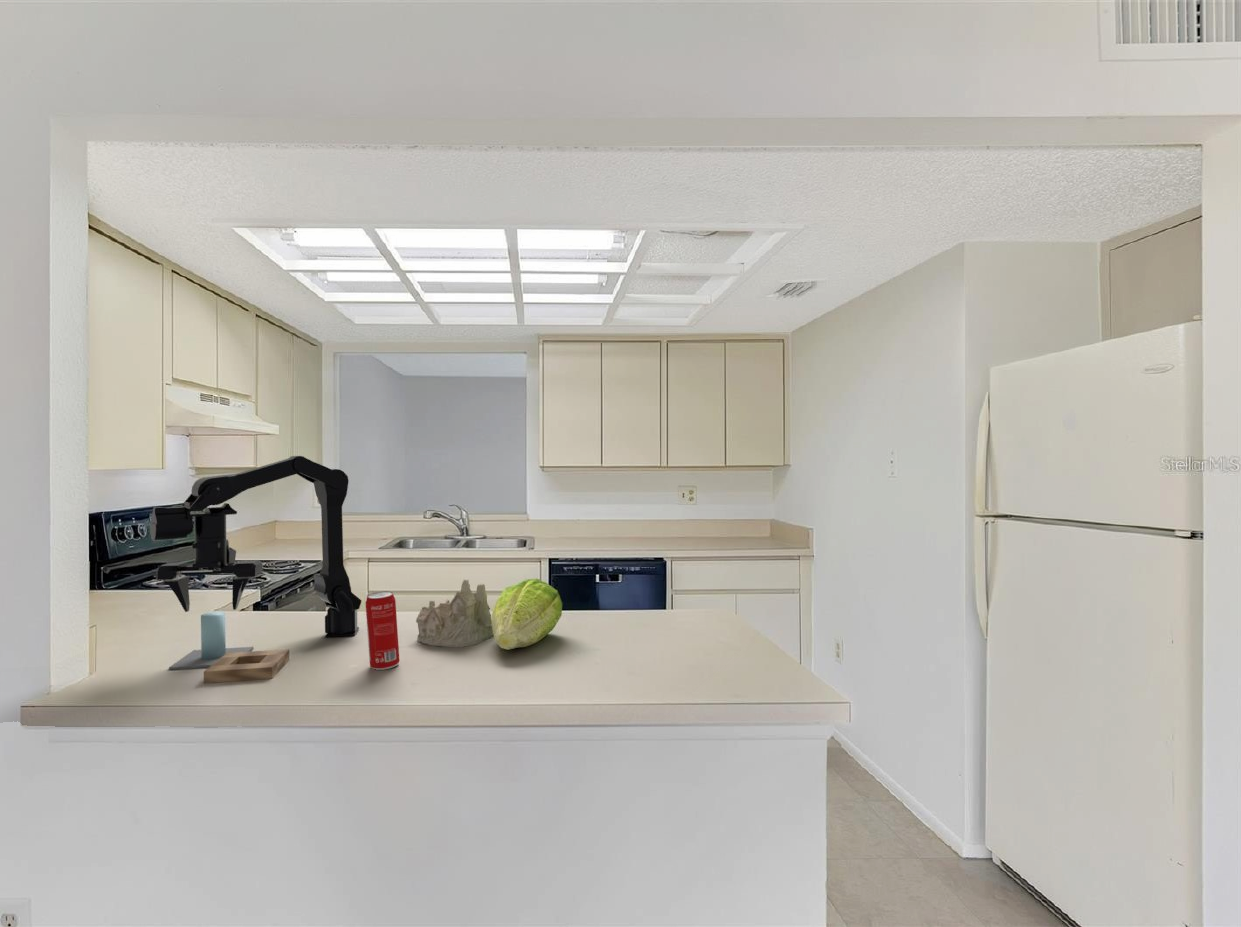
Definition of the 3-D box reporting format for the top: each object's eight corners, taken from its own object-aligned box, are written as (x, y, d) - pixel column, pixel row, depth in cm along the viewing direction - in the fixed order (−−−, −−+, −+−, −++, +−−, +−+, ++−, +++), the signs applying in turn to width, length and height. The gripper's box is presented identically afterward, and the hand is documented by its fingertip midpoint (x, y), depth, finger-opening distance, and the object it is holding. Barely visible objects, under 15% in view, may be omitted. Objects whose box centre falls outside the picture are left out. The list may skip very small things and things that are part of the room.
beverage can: (405, 663, 139) (404, 591, 139) (384, 673, 133) (383, 597, 133) (381, 660, 141) (380, 589, 141) (360, 669, 135) (359, 595, 134)
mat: (253, 648, 149) (253, 646, 149) (234, 665, 138) (234, 663, 138) (193, 652, 147) (193, 650, 147) (168, 669, 135) (168, 667, 135)
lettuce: (460, 627, 142) (517, 596, 138) (499, 588, 165) (548, 560, 162) (495, 684, 143) (553, 654, 139) (529, 637, 166) (579, 611, 163)
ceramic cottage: (505, 631, 162) (500, 570, 162) (461, 652, 148) (455, 585, 147) (455, 628, 169) (450, 569, 169) (408, 648, 155) (402, 583, 154)
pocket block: (289, 659, 142) (289, 649, 142) (272, 678, 130) (272, 667, 130) (227, 663, 139) (226, 653, 139) (203, 683, 127) (203, 671, 127)
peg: (228, 652, 145) (228, 611, 145) (221, 659, 140) (220, 616, 140) (206, 654, 144) (205, 612, 144) (197, 660, 140) (197, 617, 139)
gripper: (270, 531, 151) (270, 600, 152) (178, 533, 148) (178, 604, 148) (254, 537, 140) (254, 611, 141) (154, 539, 137) (155, 616, 137)
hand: (211, 610), depth 142 cm, fingers open, 9 cm apart
